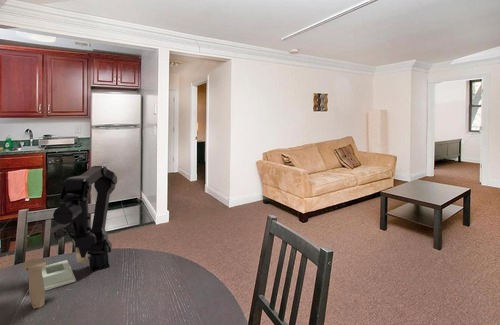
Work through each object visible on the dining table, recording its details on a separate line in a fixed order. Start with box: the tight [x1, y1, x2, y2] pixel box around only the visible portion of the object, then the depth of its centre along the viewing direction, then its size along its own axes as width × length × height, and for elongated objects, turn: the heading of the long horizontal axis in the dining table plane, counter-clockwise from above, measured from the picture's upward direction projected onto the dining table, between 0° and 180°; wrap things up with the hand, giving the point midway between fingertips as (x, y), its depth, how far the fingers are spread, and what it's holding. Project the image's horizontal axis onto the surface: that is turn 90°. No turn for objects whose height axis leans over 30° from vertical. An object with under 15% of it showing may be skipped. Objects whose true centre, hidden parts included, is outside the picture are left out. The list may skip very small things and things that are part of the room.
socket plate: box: [42, 259, 77, 291], centre depth 106 cm, size 11×11×4 cm
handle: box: [22, 258, 47, 309], centre depth 91 cm, size 5×6×15 cm
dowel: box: [75, 248, 89, 264], centre depth 101 cm, size 3×3×8 cm
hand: (81, 255), depth 102 cm, fingers closed on dowel, 3 cm apart
